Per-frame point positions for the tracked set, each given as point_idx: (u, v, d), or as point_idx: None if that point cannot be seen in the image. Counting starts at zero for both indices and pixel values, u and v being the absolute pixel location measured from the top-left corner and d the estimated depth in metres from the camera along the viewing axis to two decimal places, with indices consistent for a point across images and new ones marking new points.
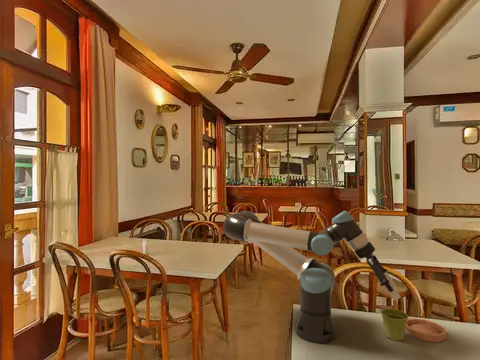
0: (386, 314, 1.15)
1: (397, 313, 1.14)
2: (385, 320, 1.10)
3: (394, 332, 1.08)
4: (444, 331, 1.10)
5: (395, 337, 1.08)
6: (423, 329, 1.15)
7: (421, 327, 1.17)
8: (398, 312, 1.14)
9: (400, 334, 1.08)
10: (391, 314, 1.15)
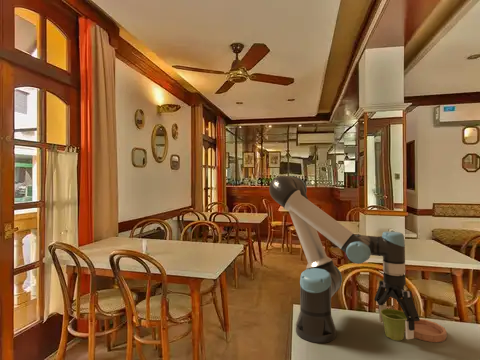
0: (386, 314, 1.15)
1: (397, 313, 1.14)
2: (385, 320, 1.10)
3: (394, 332, 1.08)
4: (444, 331, 1.10)
5: (395, 337, 1.08)
6: (423, 329, 1.15)
7: (421, 327, 1.17)
8: (398, 312, 1.14)
9: (400, 334, 1.08)
10: (391, 314, 1.15)
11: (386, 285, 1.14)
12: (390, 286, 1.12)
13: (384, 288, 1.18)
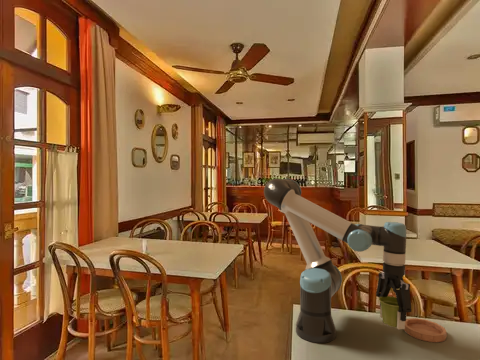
0: (384, 301, 1.16)
1: (396, 300, 1.15)
2: (383, 307, 1.11)
3: (392, 318, 1.09)
4: (444, 331, 1.10)
5: (392, 323, 1.09)
6: (423, 329, 1.15)
7: (421, 327, 1.17)
8: (396, 300, 1.15)
9: None
10: (389, 302, 1.16)
11: (385, 275, 1.15)
12: (389, 274, 1.13)
13: (384, 280, 1.17)
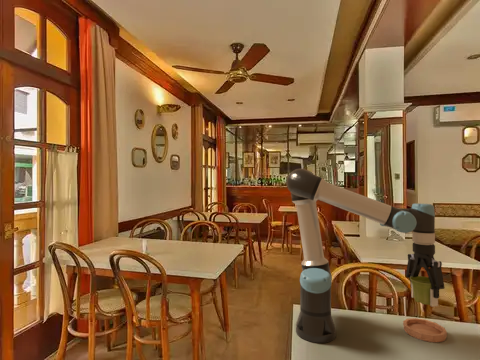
0: (415, 281, 1.18)
1: (426, 279, 1.18)
2: (415, 285, 1.14)
3: (425, 296, 1.12)
4: (444, 331, 1.10)
5: (425, 301, 1.12)
6: (423, 329, 1.15)
7: (421, 327, 1.17)
8: (427, 279, 1.18)
9: None
10: (420, 281, 1.19)
11: (415, 255, 1.18)
12: (419, 254, 1.16)
13: (413, 261, 1.20)
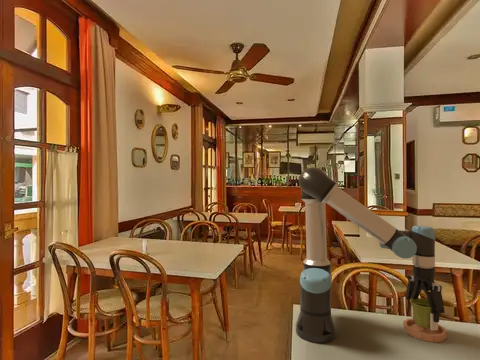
0: (415, 303, 1.18)
1: (426, 302, 1.18)
2: (415, 308, 1.14)
3: (425, 320, 1.11)
4: (444, 331, 1.10)
5: (425, 325, 1.12)
6: (423, 329, 1.15)
7: (421, 327, 1.17)
8: (427, 301, 1.17)
9: None
10: (420, 303, 1.18)
11: (415, 277, 1.17)
12: (419, 277, 1.16)
13: (413, 283, 1.20)
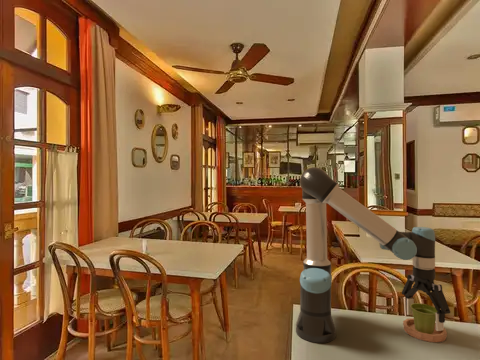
0: (415, 308, 1.18)
1: (427, 307, 1.17)
2: (416, 314, 1.13)
3: (425, 326, 1.11)
4: (444, 331, 1.10)
5: (426, 331, 1.11)
6: None
7: None
8: (427, 307, 1.17)
9: (430, 328, 1.11)
10: (420, 309, 1.18)
11: (415, 279, 1.17)
12: (419, 280, 1.15)
13: (412, 282, 1.21)
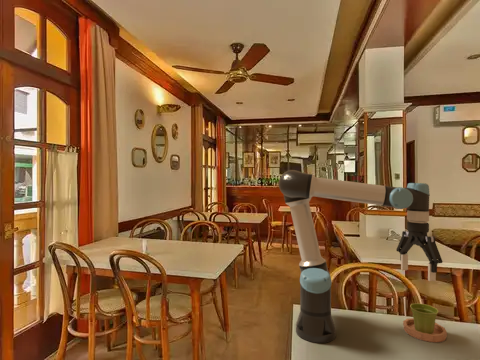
0: (415, 309, 1.18)
1: (426, 307, 1.17)
2: (415, 314, 1.13)
3: (425, 326, 1.11)
4: (444, 331, 1.10)
5: (426, 331, 1.11)
6: None
7: None
8: (427, 307, 1.17)
9: (430, 328, 1.11)
10: (420, 309, 1.18)
11: (409, 234, 1.20)
12: (413, 234, 1.18)
13: (407, 238, 1.23)
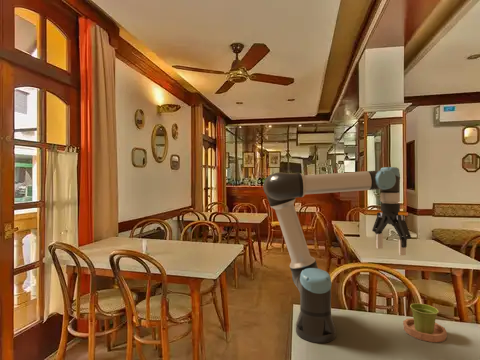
0: (415, 309, 1.18)
1: (426, 307, 1.17)
2: (415, 314, 1.13)
3: (425, 326, 1.11)
4: (444, 331, 1.10)
5: (426, 331, 1.11)
6: None
7: None
8: (427, 307, 1.17)
9: (430, 328, 1.11)
10: (420, 309, 1.18)
11: (383, 214, 1.30)
12: (386, 214, 1.28)
13: (381, 219, 1.34)
